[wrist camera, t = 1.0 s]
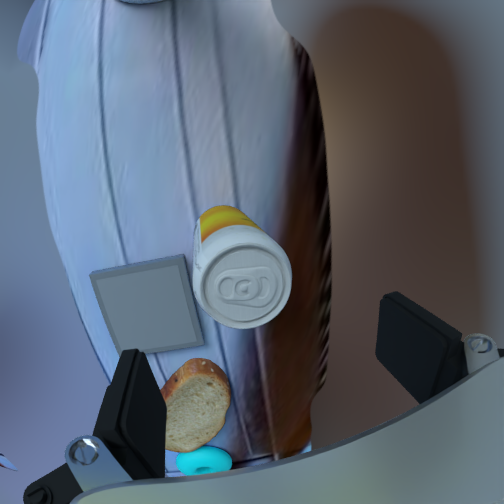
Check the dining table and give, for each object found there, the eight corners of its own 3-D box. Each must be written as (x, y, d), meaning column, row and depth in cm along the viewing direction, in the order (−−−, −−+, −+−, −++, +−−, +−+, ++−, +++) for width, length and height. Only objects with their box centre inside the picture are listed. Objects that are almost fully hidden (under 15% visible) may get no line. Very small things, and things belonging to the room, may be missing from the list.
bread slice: (215, 349, 34) (218, 367, 31) (252, 427, 40) (256, 444, 37) (98, 378, 33) (92, 395, 29) (154, 448, 38) (154, 464, 35)
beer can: (247, 261, 32) (289, 333, 17) (192, 259, 30) (191, 334, 16) (253, 206, 30) (305, 239, 16) (195, 202, 29) (194, 233, 15)
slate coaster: (92, 271, 28) (88, 275, 27) (183, 254, 30) (183, 257, 29) (121, 351, 32) (119, 357, 30) (203, 339, 33) (204, 345, 32)
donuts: (252, 497, 32) (210, 513, 33) (242, 454, 42) (205, 473, 42) (206, 485, 29) (165, 500, 29) (201, 436, 38) (164, 456, 39)
